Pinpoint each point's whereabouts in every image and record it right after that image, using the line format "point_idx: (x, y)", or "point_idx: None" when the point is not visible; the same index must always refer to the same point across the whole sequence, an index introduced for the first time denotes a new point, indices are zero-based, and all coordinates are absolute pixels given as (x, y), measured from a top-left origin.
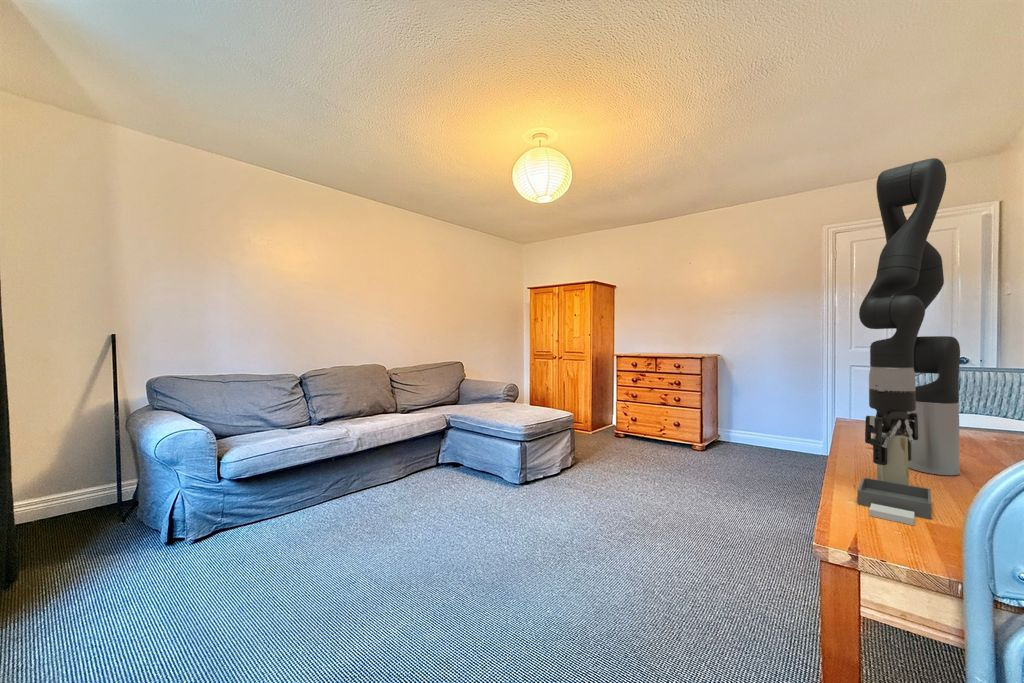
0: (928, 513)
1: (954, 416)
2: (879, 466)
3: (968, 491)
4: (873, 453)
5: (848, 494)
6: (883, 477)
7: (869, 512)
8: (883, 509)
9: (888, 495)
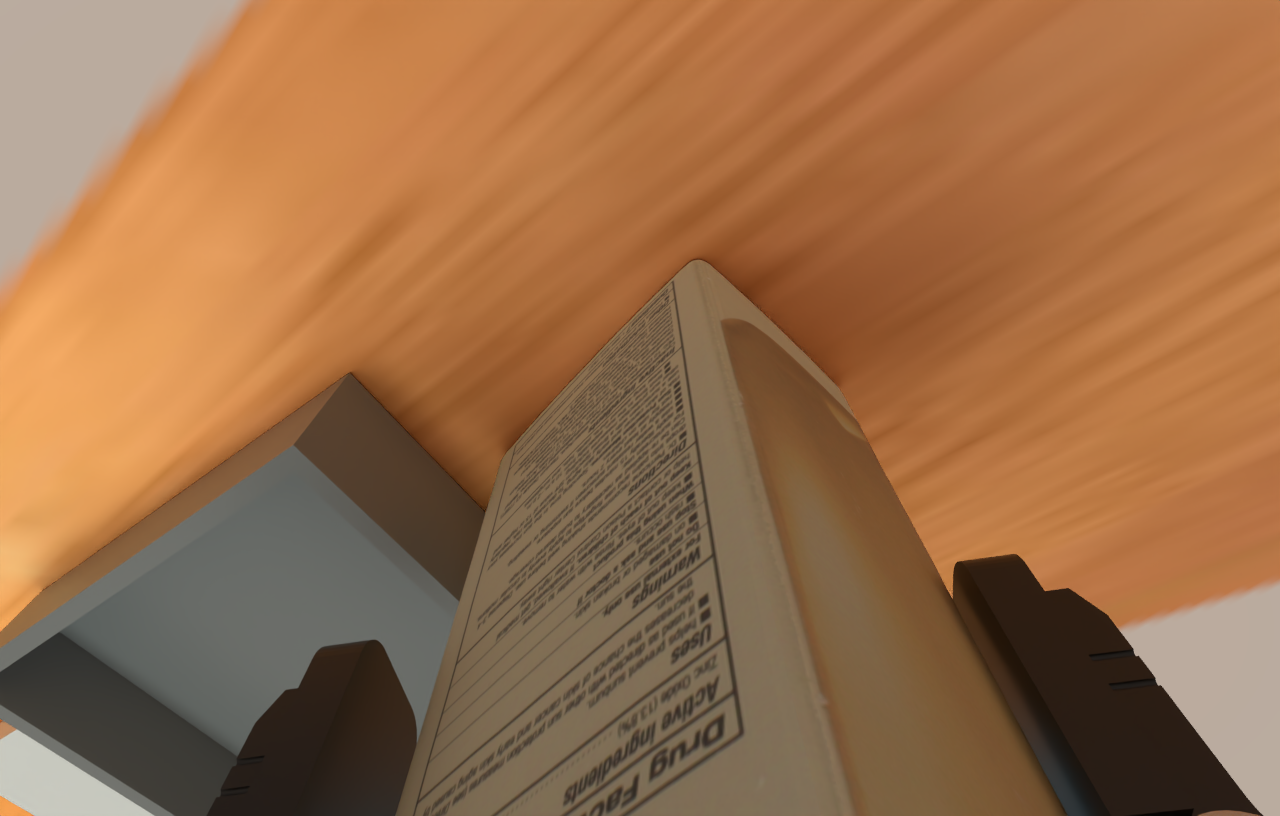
0: None
1: None
2: (567, 498)
3: (1265, 583)
4: (213, 808)
5: (113, 422)
6: (478, 547)
7: None
8: (58, 783)
9: (137, 796)
